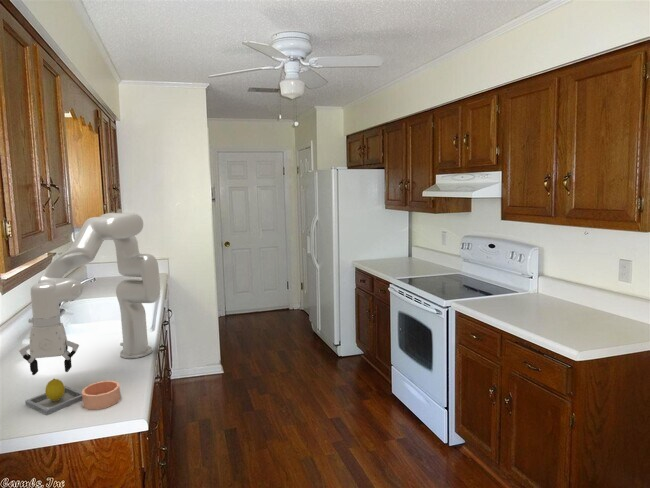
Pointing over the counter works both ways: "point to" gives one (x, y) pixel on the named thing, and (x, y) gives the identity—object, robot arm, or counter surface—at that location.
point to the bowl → (101, 395)
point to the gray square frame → (50, 410)
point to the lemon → (55, 390)
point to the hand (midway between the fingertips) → (51, 371)
